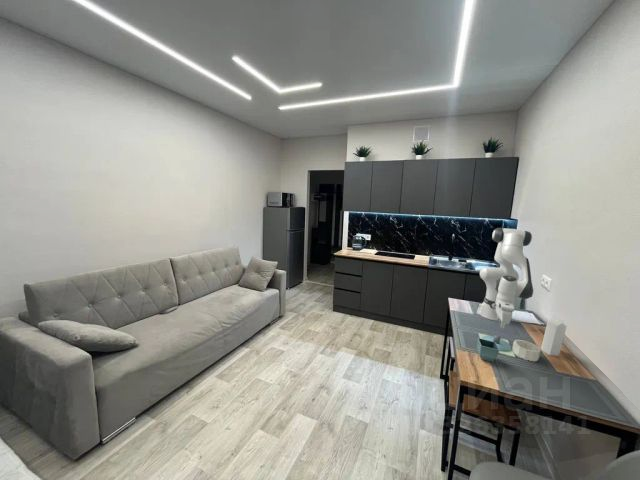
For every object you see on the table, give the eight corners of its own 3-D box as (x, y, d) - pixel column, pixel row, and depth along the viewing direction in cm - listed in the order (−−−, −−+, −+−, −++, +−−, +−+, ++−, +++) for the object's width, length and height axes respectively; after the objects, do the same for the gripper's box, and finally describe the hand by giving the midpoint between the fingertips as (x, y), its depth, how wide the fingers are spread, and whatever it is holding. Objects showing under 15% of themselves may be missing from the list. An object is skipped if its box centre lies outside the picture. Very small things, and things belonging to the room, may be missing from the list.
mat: (478, 333, 171) (478, 333, 171) (507, 341, 164) (507, 340, 164) (482, 349, 153) (483, 348, 153) (515, 357, 146) (515, 357, 146)
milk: (549, 349, 158) (558, 316, 154) (559, 355, 152) (568, 321, 148) (540, 349, 157) (548, 315, 154) (549, 355, 151) (558, 320, 148)
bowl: (510, 346, 158) (512, 337, 157) (534, 352, 153) (536, 343, 152) (515, 357, 147) (517, 347, 146) (541, 364, 142) (543, 354, 141)
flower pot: (496, 365, 138) (499, 350, 137) (478, 360, 141) (481, 345, 140) (492, 356, 146) (495, 341, 145) (474, 351, 149) (477, 337, 148)
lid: (480, 334, 168) (481, 327, 167) (507, 341, 162) (509, 334, 161) (483, 346, 155) (484, 338, 154) (513, 354, 149) (515, 346, 148)
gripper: (495, 296, 164) (491, 316, 166) (501, 307, 146) (497, 330, 148) (506, 298, 162) (502, 319, 164) (515, 310, 143) (510, 333, 145)
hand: (500, 324), depth 156 cm, fingers open, 8 cm apart
